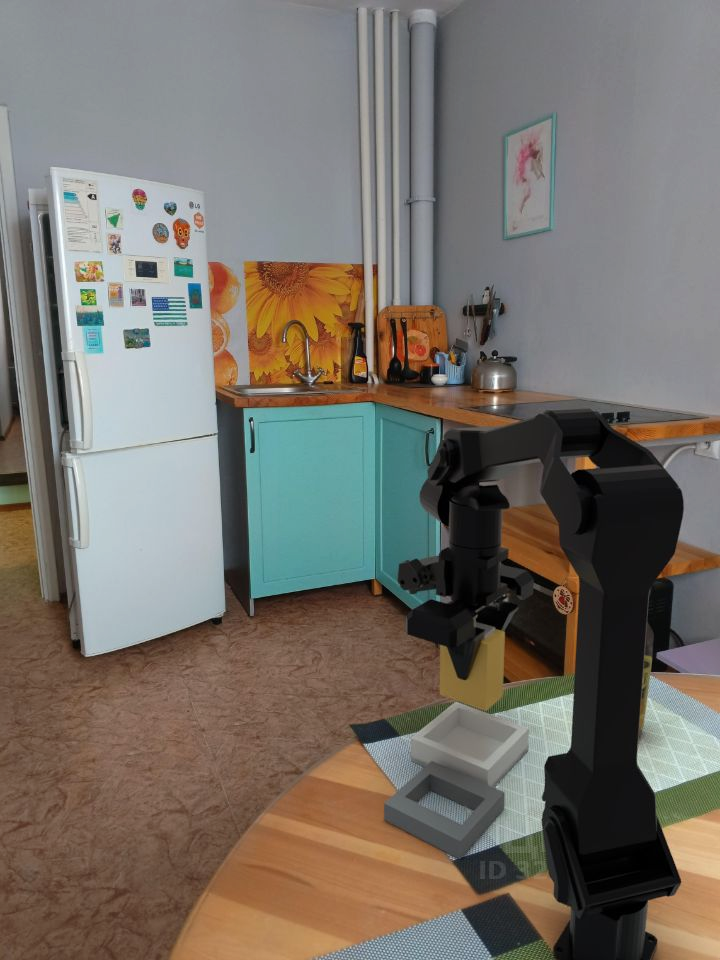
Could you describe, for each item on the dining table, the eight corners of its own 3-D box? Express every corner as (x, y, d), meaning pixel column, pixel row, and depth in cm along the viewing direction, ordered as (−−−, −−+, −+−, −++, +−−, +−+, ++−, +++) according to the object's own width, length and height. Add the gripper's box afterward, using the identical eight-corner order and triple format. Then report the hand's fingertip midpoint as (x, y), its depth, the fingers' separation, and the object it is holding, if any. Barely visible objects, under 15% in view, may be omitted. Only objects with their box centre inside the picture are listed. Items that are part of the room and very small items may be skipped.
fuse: (485, 711, 79) (487, 639, 77) (439, 694, 83) (440, 625, 81) (502, 696, 82) (505, 626, 80) (457, 680, 86) (458, 613, 84)
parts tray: (487, 794, 77) (488, 770, 77) (410, 760, 83) (411, 737, 83) (528, 750, 85) (529, 728, 84) (455, 722, 91) (455, 701, 90)
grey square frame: (460, 859, 68) (460, 841, 68) (384, 820, 74) (384, 803, 73) (503, 809, 75) (504, 792, 75) (431, 776, 81) (431, 760, 80)
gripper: (455, 511, 90) (453, 626, 94) (364, 549, 76) (366, 683, 79) (538, 525, 83) (532, 649, 87) (455, 570, 69) (452, 715, 73)
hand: (472, 671), depth 82 cm, fingers closed on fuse, 4 cm apart
